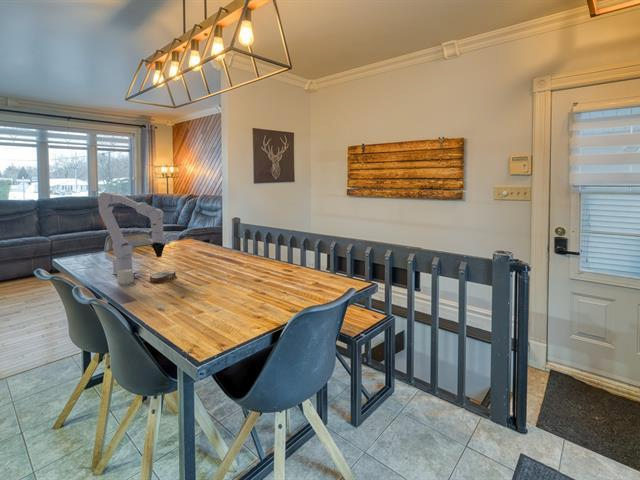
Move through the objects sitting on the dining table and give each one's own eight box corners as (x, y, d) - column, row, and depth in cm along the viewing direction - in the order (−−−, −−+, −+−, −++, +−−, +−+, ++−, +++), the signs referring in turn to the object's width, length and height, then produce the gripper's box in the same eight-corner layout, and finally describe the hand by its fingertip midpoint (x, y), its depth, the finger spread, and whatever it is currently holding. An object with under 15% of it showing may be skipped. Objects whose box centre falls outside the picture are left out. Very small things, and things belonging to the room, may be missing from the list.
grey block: (117, 283, 176) (116, 271, 175) (127, 280, 181) (126, 268, 180) (124, 284, 174) (123, 272, 173) (133, 281, 179) (132, 270, 178)
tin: (146, 282, 177) (161, 284, 176) (146, 276, 177) (161, 278, 175) (165, 274, 192) (179, 276, 190) (165, 269, 191) (179, 271, 190)
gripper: (141, 231, 189) (143, 256, 191) (161, 233, 183) (162, 259, 185) (152, 230, 196) (154, 254, 198) (172, 231, 190) (173, 257, 192)
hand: (159, 256), depth 192 cm, fingers closed
